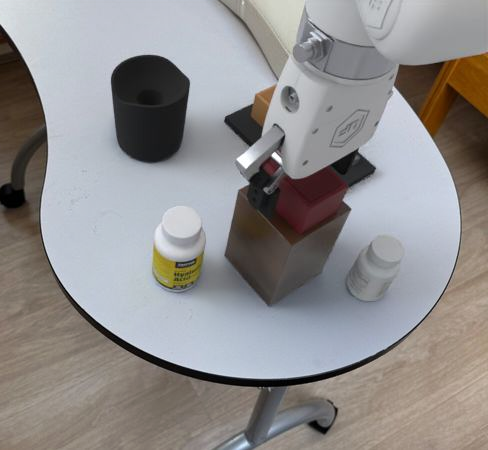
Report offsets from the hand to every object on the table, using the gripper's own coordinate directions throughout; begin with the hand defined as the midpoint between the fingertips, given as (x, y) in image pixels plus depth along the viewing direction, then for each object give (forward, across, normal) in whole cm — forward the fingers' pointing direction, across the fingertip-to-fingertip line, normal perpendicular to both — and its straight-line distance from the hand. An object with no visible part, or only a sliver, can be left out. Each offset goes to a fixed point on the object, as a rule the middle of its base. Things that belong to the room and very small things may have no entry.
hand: (298, 185), depth 56 cm
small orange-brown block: (+13, +15, +16) cm, 25 cm away
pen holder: (+14, -1, +24) cm, 28 cm away
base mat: (+14, +15, +12) cm, 24 cm away
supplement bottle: (+14, -10, +5) cm, 18 cm away
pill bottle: (+14, +7, -8) cm, 18 cm away
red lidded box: (+2, 0, 0) cm, 2 cm away
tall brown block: (+14, 0, 0) cm, 14 cm away
